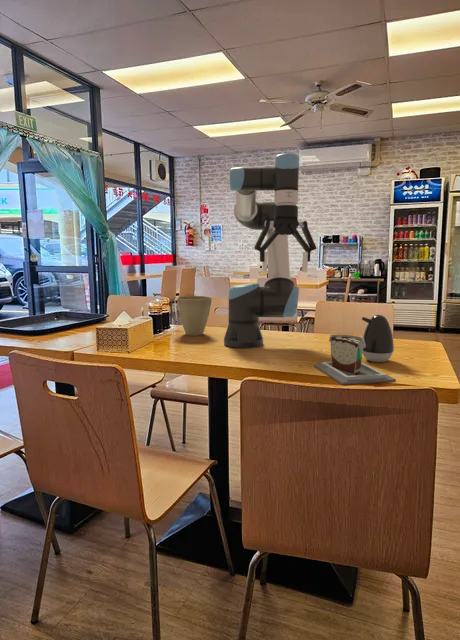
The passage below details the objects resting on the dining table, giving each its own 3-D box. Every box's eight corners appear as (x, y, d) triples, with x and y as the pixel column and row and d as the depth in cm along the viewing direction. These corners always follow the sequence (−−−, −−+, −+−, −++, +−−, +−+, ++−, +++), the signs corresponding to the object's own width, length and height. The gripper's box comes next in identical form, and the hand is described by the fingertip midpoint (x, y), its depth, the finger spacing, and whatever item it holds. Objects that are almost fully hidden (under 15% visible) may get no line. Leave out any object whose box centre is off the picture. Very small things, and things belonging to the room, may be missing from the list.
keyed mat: (313, 366, 139) (313, 361, 139) (360, 363, 142) (361, 358, 142) (341, 384, 120) (341, 378, 119) (395, 381, 123) (396, 375, 122)
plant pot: (179, 338, 185) (179, 299, 182) (175, 331, 199) (175, 296, 196) (215, 336, 188) (214, 298, 186) (208, 330, 202) (208, 295, 200)
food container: (373, 373, 128) (375, 339, 127) (358, 376, 125) (359, 341, 124) (343, 364, 139) (344, 332, 137) (328, 367, 136) (329, 334, 134)
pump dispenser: (357, 356, 152) (359, 312, 150) (388, 357, 151) (391, 312, 149) (363, 364, 142) (365, 316, 140) (396, 364, 141) (399, 317, 138)
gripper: (250, 203, 136) (250, 273, 139) (327, 204, 141) (325, 272, 144) (245, 205, 143) (245, 271, 146) (318, 207, 148) (316, 271, 151)
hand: (284, 272), depth 145 cm, fingers open, 13 cm apart
